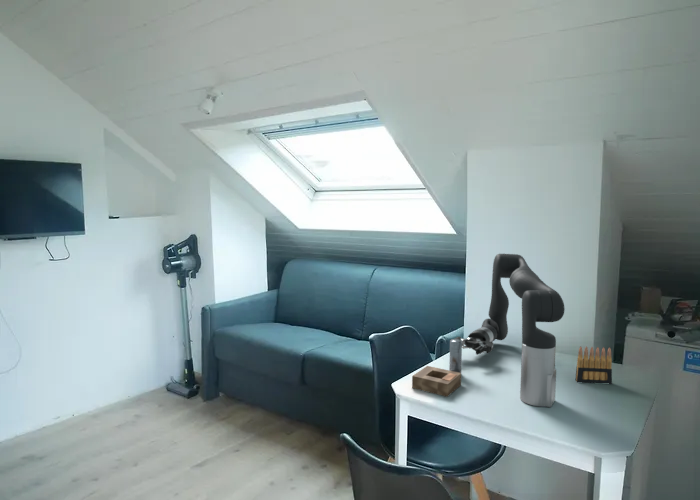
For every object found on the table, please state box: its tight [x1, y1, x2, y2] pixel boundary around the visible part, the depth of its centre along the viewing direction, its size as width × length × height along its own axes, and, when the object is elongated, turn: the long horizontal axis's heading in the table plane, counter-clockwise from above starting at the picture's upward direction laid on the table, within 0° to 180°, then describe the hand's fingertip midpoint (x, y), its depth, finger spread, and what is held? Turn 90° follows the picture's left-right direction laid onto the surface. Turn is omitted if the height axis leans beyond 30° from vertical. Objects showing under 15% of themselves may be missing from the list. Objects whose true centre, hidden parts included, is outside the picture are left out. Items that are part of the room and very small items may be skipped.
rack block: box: [411, 365, 462, 398], centre depth 149 cm, size 12×11×4 cm
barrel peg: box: [448, 338, 463, 374], centre depth 159 cm, size 4×4×12 cm
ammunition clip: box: [574, 346, 613, 385], centre depth 152 cm, size 11×2×12 cm, turn 82°
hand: (465, 349), depth 166 cm, fingers open, 8 cm apart
